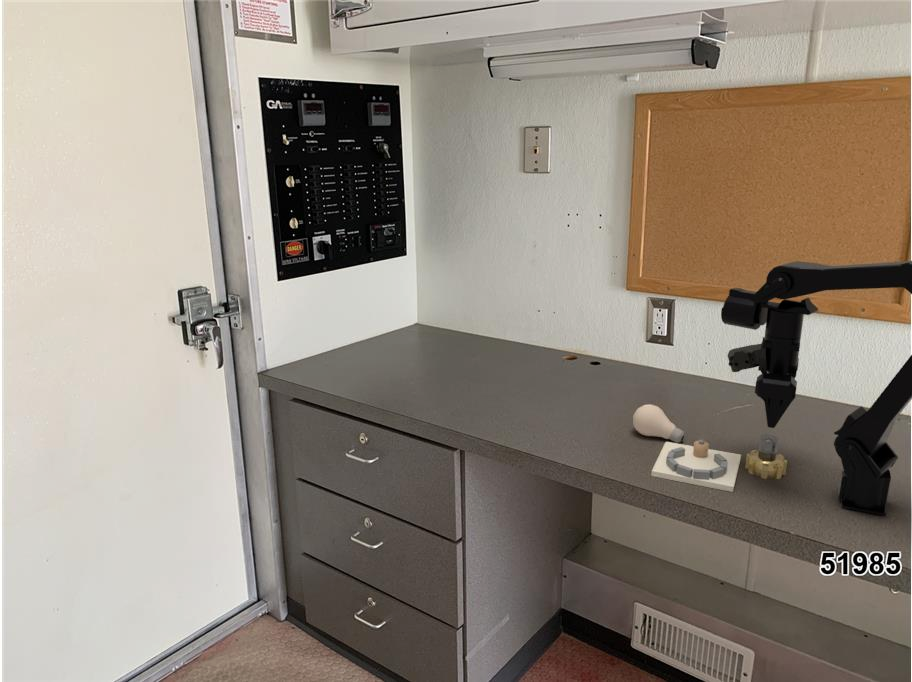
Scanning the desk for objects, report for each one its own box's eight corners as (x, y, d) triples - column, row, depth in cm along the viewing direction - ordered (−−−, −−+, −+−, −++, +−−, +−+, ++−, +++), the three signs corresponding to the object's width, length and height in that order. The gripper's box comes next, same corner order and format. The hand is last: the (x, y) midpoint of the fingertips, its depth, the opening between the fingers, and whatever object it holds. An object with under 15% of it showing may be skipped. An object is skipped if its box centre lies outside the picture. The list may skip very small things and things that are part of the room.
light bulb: (695, 419, 143) (646, 393, 148) (680, 434, 139) (631, 407, 144) (686, 442, 147) (639, 416, 152) (671, 459, 142) (623, 431, 148)
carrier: (740, 459, 136) (742, 440, 135) (733, 492, 124) (735, 471, 123) (665, 446, 142) (667, 427, 141) (651, 475, 130) (652, 455, 129)
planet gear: (786, 466, 133) (790, 434, 131) (784, 482, 127) (789, 448, 125) (746, 459, 136) (750, 427, 134) (743, 474, 130) (747, 441, 128)
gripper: (738, 317, 135) (730, 394, 140) (727, 343, 119) (719, 429, 124) (803, 323, 131) (792, 403, 135) (801, 351, 114) (789, 440, 119)
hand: (772, 418), depth 128 cm, fingers open, 9 cm apart
